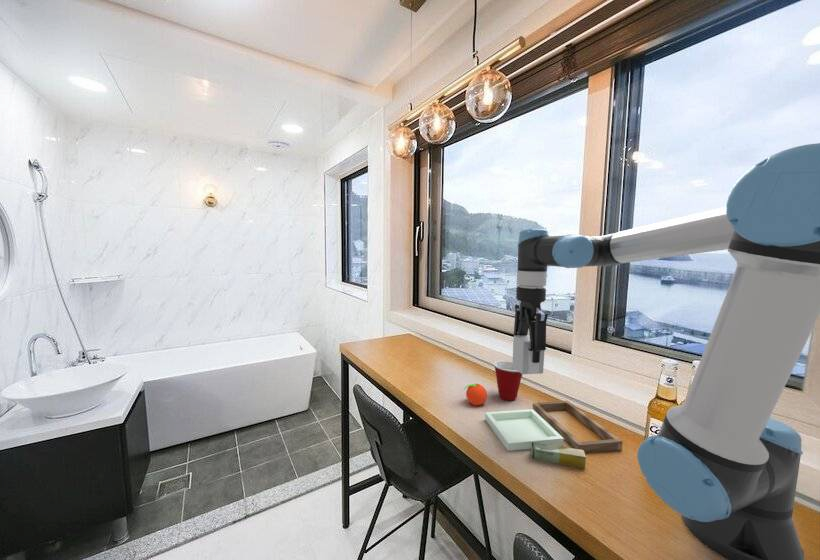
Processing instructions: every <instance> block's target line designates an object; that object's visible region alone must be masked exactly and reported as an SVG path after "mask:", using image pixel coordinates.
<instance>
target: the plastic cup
mask: <svg viewBox="0 0 820 560" xmlns="http://www.w3.org/2000/svg"><path fill="white" fill-rule="evenodd" d="M512 362H513V361H505V360H497V361H493V367H494V371H495V376H496V383H497V385H496V386H497V389H498V397H499V398H500V399H501V400H503V401H506V402H514V401H516V400H517V398H518V393H519V389H520V386H521V380H522V378H523V374H521V373H520V372H519V371H518V370H516V369H515V368H514V367H513V366H512Z"/></svg>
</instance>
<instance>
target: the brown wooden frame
mask: <svg viewBox="0 0 820 560" xmlns="http://www.w3.org/2000/svg"><path fill="white" fill-rule="evenodd" d="M532 409H533V410H534V411H535V412H536V413H537V414H539V415H540V416H541V417H542V418H543V419H544V420H545V421H546V422H547V423H548V424H549V425H550V426H551V427H552V428H553V429H554V430H555V431H557V432H558V433H559V434H560V435H561V436H562V437H563V438H564V442H566V443H568V445H569V446H570V447H571V448H574V449H581V450H584V452H585V454H586V453H597V452H598V453H599V452H613V451H614V452H615V451H623V440H621V439H620V438H619V437H617V436H616V435H615V434H613V432H611V431H609V430H608V429H606V428H605V427H604V426H602V425H601V424H600V423H598V422H597V421H596V420H594V419H593V418H592V417H590V416H589V415H587V413H585V412H584V411H582V410H581V409H580V408H578V407H577V406H576V405H574V404H573V403H572V402H570V401H569V400H555V401H543V402H542V401H541V402H533V403H532ZM556 411H558V412H559V411H567V412H568V413H569V414H571V415H572V416H573V417H574V418H576V419H577V420H578V421H580V422H581V423H582V424H583V425H585V426H586V427H587V428H588V429H589V430H590V431H592V432H593V433H595V434H596V435H598V437H600V438H601V440H600V439H599V440H589V441H580V440H579V439H578V438H576V437H575V436H574V435H573V433H571V432H570V431H568V430H567V429H566V428H565V427H564V426H563V425H562V424H561V423H559V422H558V421H557V420H556V419H555V418H554V417H553V416H552V415H551V414H550V413H548V412H556Z"/></svg>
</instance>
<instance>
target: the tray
mask: <svg viewBox="0 0 820 560" xmlns="http://www.w3.org/2000/svg"><path fill="white" fill-rule="evenodd" d="M484 414H485V416H484V417H485V418H484V420H485V422H486V424H488V426H489V428H490V429H491V430H492V431H493V433H495V435H496V437H497V438H498V440H499V441H500V442H501V443H502V445H503V446H504V448H505V449H506V450H507V451H508V452H512V451H513V452H514V451H515V452H516V451H529V450H530V451H531V445H532V444H531V443H532V442H534V443H541V444H548V445H554V446H561V447H564V442H565V440H564V438H563V437H562V436H561V435H560V434H559V433H558V432H557V431H555V430H554V429H553V428H552V427H551V426H550V425H549V424H548V423H547V422H546V421H545V420H544V419H543V418H542V417H541V416H540V415H539V414H537V413H536V412H535V411H534V410H533V408H531V409H530V408H529V409H528V408H526V409H516V410H502V411H501V410H500V411H485V413H484Z"/></svg>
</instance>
